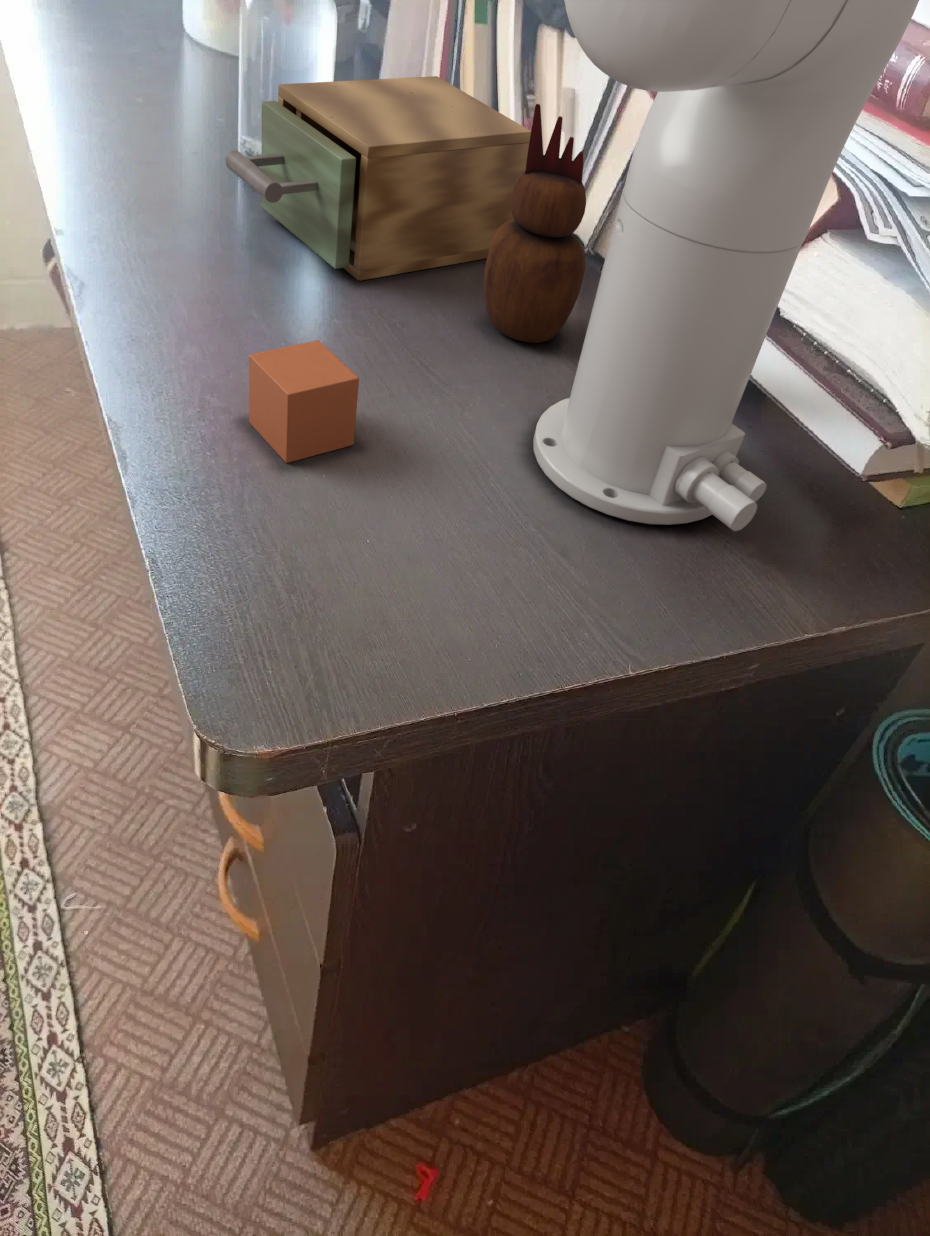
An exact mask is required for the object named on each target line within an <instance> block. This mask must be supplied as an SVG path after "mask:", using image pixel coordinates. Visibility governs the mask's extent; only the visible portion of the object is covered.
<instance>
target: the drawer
mask: <svg viewBox="0 0 930 1236" xmlns="http://www.w3.org/2000/svg"><path fill="white" fill-rule="evenodd" d="M361 159H362V154H361V153H359V152H358V151H356V150H355V149H353V148H352V147H351V146H349V145H348V144H346V143H345V142H344V141H342V140H341V139H339V138H338V137H336V136H335V135H334V134H332V133H331V132H329V131H328V130H326V129H325V128H324V127H322V126H321V125H319V124H318V123H317V122H315V121H314V120H312V119H311V118H309V117H308V116H307V115H305V114H304V113H302V112H301V111H300V110H298V109H297V108H296V115H295V114H293V113H292V112H291V111H289V110H288V109H286V108H285V107H284V106H282V105H281V104H279V103H278V100H265V101H261V154H259V155H249V156H248V155H247V156H246V155H244V154H243V153H242V152H240V151H238V150H232V151H229V152H228V153H227V155H226V157H225V166H226V167H227V169H228V170H230V171H231V172H232V173H233V174H234V175H235V176H237V177H238V178H239V179H240V180H242V181H243V182H244V183H245V184H246V185H248V187H250V188H251V189H253V191H255V192H256V193H257V194H259V195H260V198H261V199H260V201H261V202H260V203H261V204H260V205H261V208H262V209H263V210H265V211H266V212H267V213H268V214H269V215H270V216H272V217H273V219H275V220H276V221H277V222H279V223H280V224H281V225H282V226H283V227H285V228H286V229H287V230H288V231H289V232H291V234H293V235H294V236H295V237H297V238H298V239H299V240H300V241H301V242H303V243H304V244H305V246H307V247H308V248H310V249H311V250H312V251H313V252H314V253H315V254H317V255H318V256H319V257H320V258H321V259H322V260H324V261H325V262H326V263H327V264H329V265H330V266H331V267H332V268H333V269H335V270H338V269H344V267H349V255H350V249H351V250H352V251H353V252H355V242H356V228H357V214H358V200H359V186H360V172H361Z"/></svg>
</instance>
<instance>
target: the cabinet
mask: <svg viewBox="0 0 930 1236" xmlns="http://www.w3.org/2000/svg"><path fill="white" fill-rule="evenodd" d="M277 87H278V89H277V95H278V96H277V102H278V103H279V104H281V105H282V106H284V107H285V108H286V109H288V110H289V111H291V112H292V113H293V114H295V115H296V108H297V109H298V110H300V111H301V112H302V113H304V114H305V115H307V116H308V117H309V118H311V119H312V120H314V121H315V122H317V123H318V124H319V125H321V126H322V127H324V128H325V129H326V130H328V131H329V132H331V133H332V134H334V135H335V136H336V137H338V138H339V139H341V140H342V141H344V142H345V143H346V144H348V145H349V146H351V147H352V148H353V149H355V150H356V151H358V152H359V153H361V154H362V159H361V172H360V186H359V200H358V214H357V228H356V242H355V252H353V251H352V250H351V249H350V255H349V267H344V268H343V270H345V271H346V272H347V273H348V274H349V275H350V276H351V277H353V278H354V279H356V280H357V281H366V280H371V279H378V278H383V277H389V276H394V275H400V274H401V275H402V274H406V273H411V272H418V271H423V270H429V269H435V268H441V267H446V266H452V265H458V264H463V263H469V262H475V261H481V260H485V259H486V260H487V256H488V252H489V247H490V243H491V241H492V238H493V236H494V233H495V232H496V231H497V230H498V229H499V228H500V227H501V225H502V224H504V223H506V222H508V221H510V220H514V218H513V215H512V209H511V202H512V192H513V188H514V184H515V182H516V180H517V178H518V176H519V175H520V174H521V173H523V172H524V171H525V170H526V162H527V154H528V148H529V142H530V135H531V129H528V128H527V127H526V126H523V124H520V123H518V122H516V121H515V120H513V119H512V118H510V117H508V116H506V115H505V114H503V113H501V112H500V111H498V110H496V109H494V108H492V107H490V106H489V105H487V104H485V103H484V102H482V101H481V100H479V99H477V98H475V97H473V96H472V95H470V94H468V93H467V92H465V91H463V90H462V89H459V88H458V87H456V86H455V85H453V84H452V83H449V82H448V81H446V80H445V79H443V78H441V77H439V76H437V75H431V76H411V77H396V78H395V77H393V78H377V79H374V78H373V79H357V80H339V81H337V80H336V81H317V82H301V83H300V82H298V83H279V84H278V86H277Z"/></svg>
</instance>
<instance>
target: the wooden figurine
mask: <svg viewBox="0 0 930 1236" xmlns="http://www.w3.org/2000/svg"><path fill="white" fill-rule="evenodd" d="M541 109H542V107H541V104H540V103H535V105H534V112H533V116H532V117H533V118H532V124H531V129H530V131H531V135H530V142H529V148H528V154H527V162H526V168H525V171H524V172H523V173H521V174H520V175H519V176H518V178H517V180H516V182H515V184H514V188H513V192H512V202H511V209H512V215H513V218H514V220H510V221H508V222H506V223H504V224H502V225H501V227H500V228H499V229H498V230H497V231H496V232H495V233H494V236H493V238H492V241H491V243H490V247H489V252H488V256H487V258H486V261H485V267H484V276H483V298H484V306H485V310H486V313H487V316H488V319H489V321H490V323H491V324H492V326H493V327H494V328H495V330H496V331H498V332H499V333H501V334H502V335H504V336H506V337H508V338H510V339H513V340H517V341H520V342H525V343H529V344H532V343H533V344H541V343H546V342H548V341H550V340H552V339H554V338H555V336H556V335H557V334H558V333H559V332H560V331H561V329H562V328H564V325H565V324H566V322H567V321H568V319H569V318H570V315H571V314H572V311H573V309H574V306H575V304H576V302H577V300H578V298H579V295H580V291H581V288H582V284H583V280H584V276H585V271H586V264H587V263H586V262H587V261H586V255H585V249H584V247H583V245H582V244H581V242H580V240H579V239H578V238H577V237H576V235H575V234H573V233H575V231H576V230H578V228H579V226H580V225H581V223H582V221H583V218H584V216H585V213H586V207H587V196H586V195H587V194H586V186H585V185H584V183H583V173H584V151H583V150H582V151H579V152H578V153H577V155H576V156H575V158H573V153H574V143H575V138H574V137H573V136H570V137H569V138H568V140H567V143H566V145H565V147H564V149H563V153H562V154H561V156H560V153H561V141H562V130H563V116H561V115H559V116H557V120H556V122H555V125H554V128H553V130H552V133H551V136H550V139H549V141H548V144H547V147H546V150H545V153H544V144H543V143H544V141H543V126H542V124H543V123H542V111H541Z"/></svg>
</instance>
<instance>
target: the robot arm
mask: <svg viewBox="0 0 930 1236" xmlns="http://www.w3.org/2000/svg"><path fill="white" fill-rule="evenodd" d="M919 1H920V0H563V2H564V6H565V12H566V16H567V19H568V22H569V25H570V28H571V31H572V33H573V35H574V37H575V39H576V41H577V43H578V45H579V47H580V48H581V49H582V52H583V53H584V55H585V56H586V57H587V58H588V60H589V61H590V62H591V63H592V64H593V65H594V66H595V67H596V68H597V69H598V70H600V71H601V72H602V73H603V74H605V75H606V76H608V77H609V78H610V79H612V80H614V81H615V82H618V83H620V84H622V85H625V86H627V87H631V88H634V89H636V90H641V91H646V92H647V91H648V92H655V93H657V94H656V96H655V98H654V99H653V102H652V103H651V106H650V107H649V110H648V112H647V114H646V117H645V119H644V122H643V124H642V127H641V129H640V132H639V135H638V137H637V140H636V143H635V147H634V149H633V153H632V156H631V159H630V162H629V166H628V169H627V175H626V178H625V182H624V186H623V188H622V192H621V196H620V200H619V203H618V204H619V205H618V206H617V207H618V208H617V212H616V214H615V219H614V223H613V227H612V231H611V235H610V239H609V242H608V246H607V251H606V254H605V258H604V262H603V266H602V270H601V274H600V278H599V282H598V284H597V285H598V286H597V288H596V289H597V290H596V294H595V297H594V301H593V305H592V309H591V313H590V317H589V321H588V324H587V327H586V333H585V337H584V341H583V344H582V347H581V352H580V356H579V360H578V364H577V368H576V372H575V374H574V375H575V376H574V380H573V384H572V387H571V391H570V394H569V397H567V398H564V399H562V400H560V401H558V402H555V403H553V405H551V406H549V407H548V408H547V409H546V410H545V411H544V412H543V413H542V414H541V415H540V417H539V419H538V421H537V423H536V427H535V430H534V435H533V440H532V443H533V447H532V448H533V453H534V456H535V460H536V462H537V464H538V465H539V467H540V468H541V470H542V472H543V473H544V474H545V476H546V477H548V479H549V480H550V481H551V482H552V483H553V484H554V485H555V486H556V487H557V488H558V489H560V490H561V491H563V493H565V494H566V495H568V496H569V497H571V498H572V499H574V500H576V501H578V502H579V503H581V504H583V505H584V506H586V507H588V508H589V509H592V510H595V511H598V512H600V513H602V514H605V515H607V516H611V517H614V518H617V519H621V520H624V521H628V522H634V523H640V524H645V525H659V526H660V525H661V526H662V525H663V526H671V525H682V524H688V523H693V522H698V521H701V520H704V519H706V518H708V517H711V516H713V517H715V518H716V519H718V520H719V521H720V522H721V523H723V524H724V525H725V526H726V527H728V528H729V529H730V530H731V531H733V532H738V531H741V530H742V529H744V528H745V527H746V526H748V524H749V523H750V522H751V521H752V520H753V518H754V516H755V515H756V514H757V510H758V507H759V506H758V504H757V501H759V499H760V498H762V497H763V495H764V494H765V492H766V490H767V486H768V485H767V483H766V482H765V481H764V480H762V479H761V478H759V477H758V476H756V474H754V473H753V472H751V471H750V470H746V469H745V468H744V467H743V466H741V465H740V459H739V458H738V457H737V455H738V453H739V450H740V448H741V447H742V443H743V441H744V439H745V436H746V433H745V432H744V431H743V430H742V429H740V428H739V427H738V426H736V425H735V424H734V423H733V420H734V418H735V417H736V413H737V410H738V408H739V406H740V403H741V400H742V398H743V395H744V392H745V390H746V387H747V385H748V383H749V380H750V377H751V376H752V375H751V374H752V373H753V369H754V367H755V364H756V362H757V360H758V357H759V354H760V352H761V349H762V347H763V344H764V342H765V340H766V337H767V334H768V331H769V329H770V327H771V324H772V322H773V319H774V316H775V314H776V311H777V309H778V306H779V305H780V301H781V299H782V296H783V293H784V291H785V289H786V286H787V283H788V281H789V278H790V276H791V273H792V271H793V268H794V266H795V263H796V261H797V259H798V256H799V253H800V250H801V248H802V246H803V243H804V242H805V240H806V239H807V236H808V233H809V230H810V228H811V225H812V224H813V220H814V218H815V215H816V213H817V211H818V209H819V206H820V204H821V201H822V199H823V196H824V194H825V191H826V188H827V186H828V184H829V181H830V179H831V176H832V174H833V172H834V170H835V167H836V165H837V163H838V161H839V158H840V156H841V154H842V152H843V150H844V147H845V145H846V143H847V142H848V139H849V137H850V135H851V133H852V131H853V128H854V127H855V125H856V123H857V120H858V119H859V117H860V115H861V113H862V112H863V110H864V108H865V106H866V104H867V102H868V99H869V98H870V96H871V95H872V93H873V91H874V89H875V87H876V86H877V84H878V82H879V81H880V78H881V77H882V75H883V73H884V72H885V69H886V68H887V66H888V64H889V62H890V61H891V59H892V57H893V55H894V53H895V51H896V50H897V47H898V46H899V44H900V42H901V41H902V38H903V36H904V34H905V32H906V30H907V28H908V27H909V24H910V22H911V20H912V18H913V16H914V14H915V11H916V9H917V6H918V4H919Z"/></svg>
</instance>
